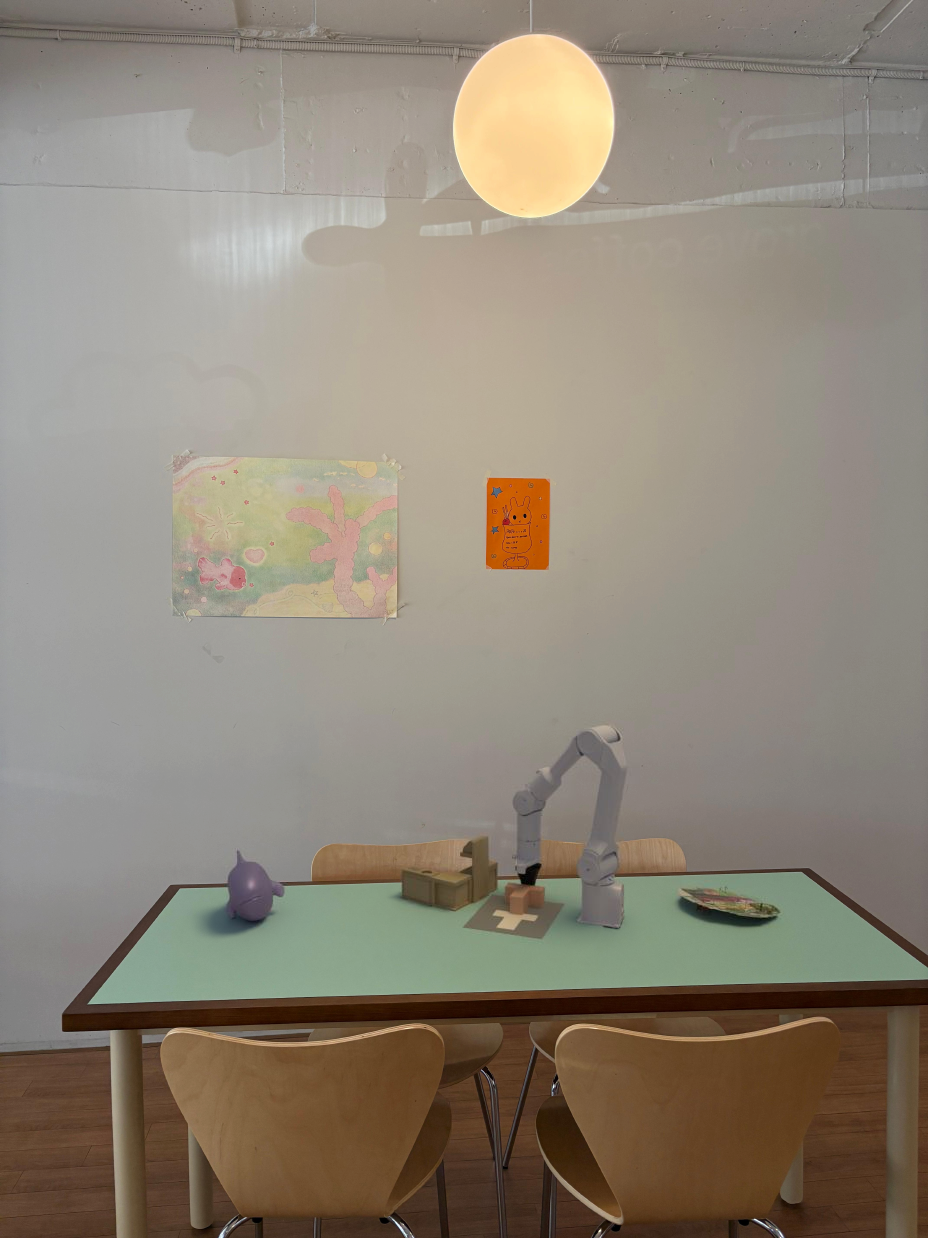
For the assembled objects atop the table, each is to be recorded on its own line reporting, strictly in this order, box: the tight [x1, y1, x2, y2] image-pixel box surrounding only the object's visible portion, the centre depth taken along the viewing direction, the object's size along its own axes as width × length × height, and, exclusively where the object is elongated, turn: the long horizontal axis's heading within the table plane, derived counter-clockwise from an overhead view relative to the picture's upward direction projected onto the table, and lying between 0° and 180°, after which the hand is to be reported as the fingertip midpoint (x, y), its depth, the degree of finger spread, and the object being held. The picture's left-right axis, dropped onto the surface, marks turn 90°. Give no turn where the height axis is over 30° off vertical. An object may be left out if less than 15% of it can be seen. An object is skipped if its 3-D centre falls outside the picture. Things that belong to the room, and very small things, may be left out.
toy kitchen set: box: [401, 835, 499, 912], centre depth 204 cm, size 18×17×15 cm
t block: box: [504, 882, 546, 915], centre depth 195 cm, size 9×9×4 cm
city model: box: [676, 885, 781, 918], centre depth 197 cm, size 25×23×6 cm
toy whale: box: [225, 849, 285, 922], centre depth 190 cm, size 14×25×16 cm, turn 11°
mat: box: [462, 894, 565, 940], centre depth 190 cm, size 18×22×1 cm
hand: (528, 894), depth 201 cm, fingers closed
